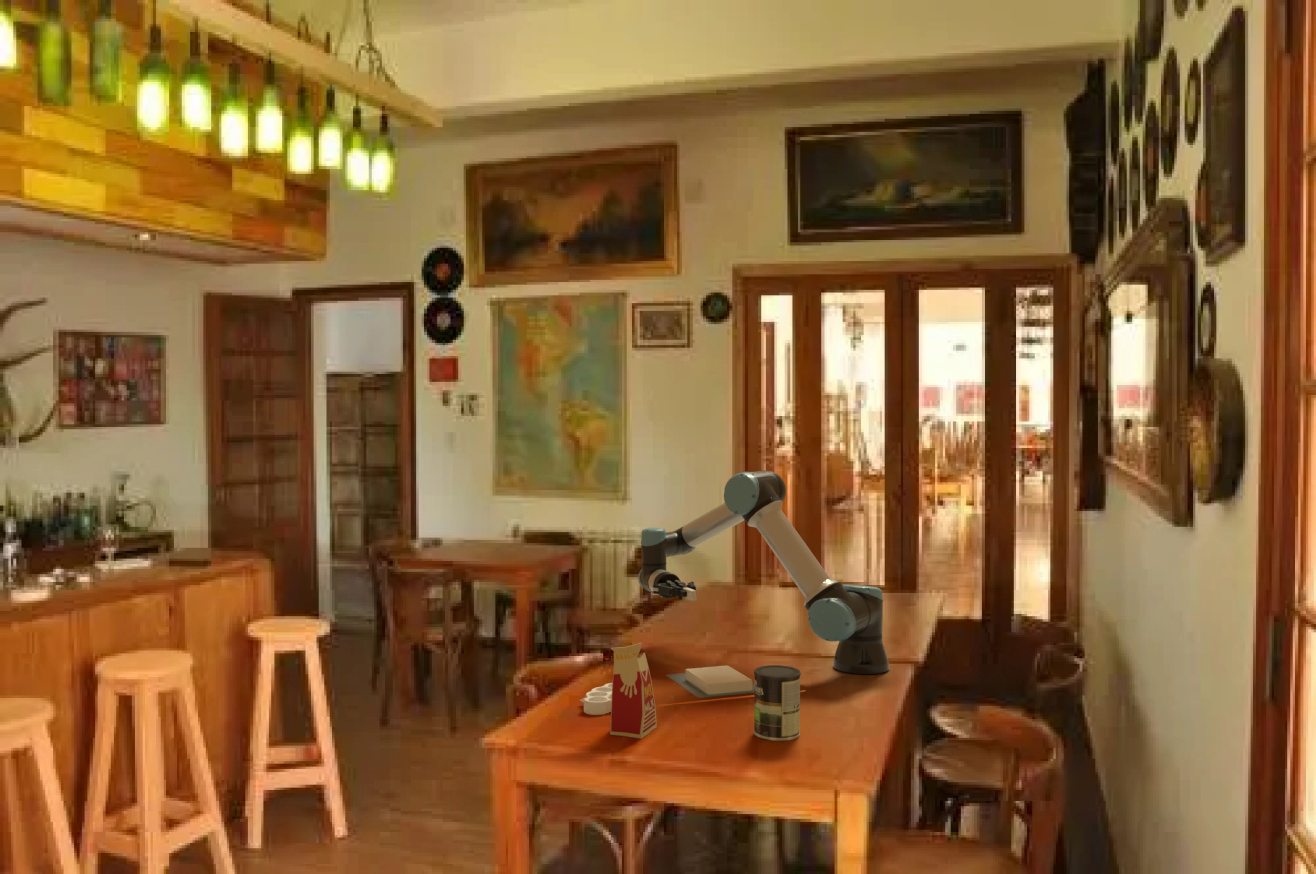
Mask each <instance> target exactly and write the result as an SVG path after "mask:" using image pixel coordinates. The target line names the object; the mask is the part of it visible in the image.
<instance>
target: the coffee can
mask: <svg viewBox="0 0 1316 874" xmlns="http://www.w3.org/2000/svg"><path fill="white" fill-rule="evenodd" d="M801 673H802V672H801V670H800V669H798V668H796V667H793V666H790V665H789V666H788V665H782V664H781V665H780V664H779V665H777V664H775V665H774V664H773V665H771V664H769V665H762V666H758V667H756V668H754V670H753V674H754V680H753V681H754V683H753V685H754V693H753V694H754V698H753V699H754V703H753V704H754V710H753V711H754V716H753V717H754V719H753V720H754V722H753V723H754V724H753V726H754V729H753V735H754V736H756V737H757V738H759V739H762V740H766V741H773V742H787V741H793V740H795V739H798V738H799V737H800V735H801V733H800V725H801V724H800V723H801V721H800V720H801V716H800V714H801V713H800V712H801V710H800V709H801V676H802V674H801Z"/></svg>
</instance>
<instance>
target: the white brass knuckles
mask: <svg viewBox="0 0 1316 874" xmlns="http://www.w3.org/2000/svg"><path fill="white" fill-rule="evenodd" d="M611 700H612V682H610V683H605V684H604V685H602V686H598V687H597V686H596V687H594V688H592V689H591V690H590V691H587V692H586V694H585V696H584V697H583V698H582V699H579V701H580V702H581V703H583V712H584V713H585V714H587V715H591V716H594V715H595V716H600V715H606V713H607V714H609V712H611Z"/></svg>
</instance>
